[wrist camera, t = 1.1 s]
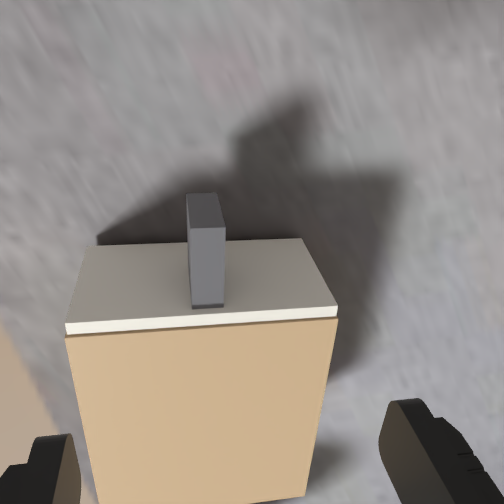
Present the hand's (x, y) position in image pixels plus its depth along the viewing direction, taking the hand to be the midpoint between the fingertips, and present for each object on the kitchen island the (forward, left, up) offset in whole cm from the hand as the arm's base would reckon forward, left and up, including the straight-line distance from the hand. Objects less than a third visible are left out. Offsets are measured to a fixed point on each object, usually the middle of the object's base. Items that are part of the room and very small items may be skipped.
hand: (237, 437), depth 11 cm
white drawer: (+7, +2, -14) cm, 16 cm away
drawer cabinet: (+9, +3, -15) cm, 18 cm away
